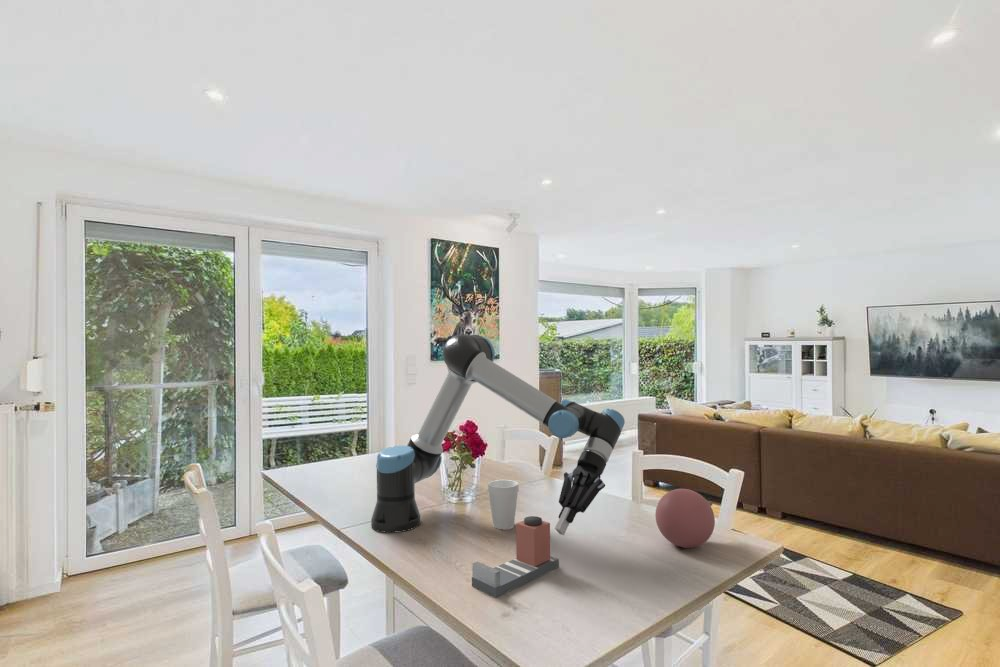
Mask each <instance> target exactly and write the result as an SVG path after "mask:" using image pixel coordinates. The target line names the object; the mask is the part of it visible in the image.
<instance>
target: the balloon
mask: <svg viewBox="0 0 1000 667" xmlns="http://www.w3.org/2000/svg"><path fill="white" fill-rule="evenodd" d="M712 506H713V502H711V501H708V500H707V499H706V498H705V497H704V496H703V495H702V494H700V493H699V492H697V491H694V490H692V489H688V488H675V489H673V490H669V491H668V492H666V493H665V494H664V495H662V496H661V498H660V499H659V501H658V502H657V505H656V509H655V522H656V526H657V528H658V530H659V532H660V533H661V535H662V536H663V538H665V539H666V541H668V542H670V543H671V544H672V545H674V546H677V547H681V548H684V549H685V548H686V549H689V548H690V549H691V548H692V549H693V548H697V547H699V546H701V545H703V544H705V543H706V542H707V541H709V539H710V538H711V537H712V534H713V533H714V529H715V525H716V524H715V523H716V518H715V514H714V510H713V508H712Z"/></svg>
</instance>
